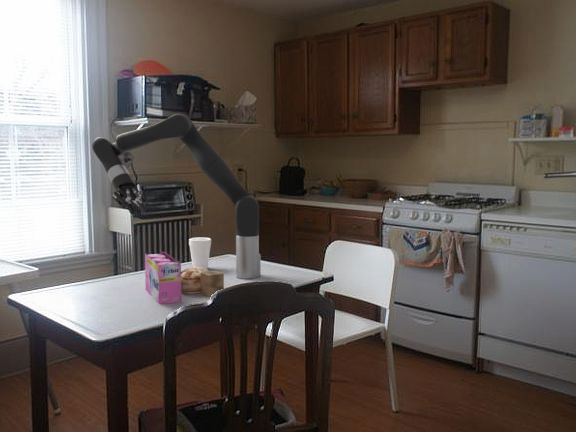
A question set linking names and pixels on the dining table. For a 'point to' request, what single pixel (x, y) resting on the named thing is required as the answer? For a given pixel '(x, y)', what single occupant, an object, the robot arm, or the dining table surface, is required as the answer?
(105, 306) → the dining table surface
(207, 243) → the foam cup
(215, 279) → the walnut block
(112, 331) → the dining table surface
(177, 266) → the gum box
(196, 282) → the trinket box
